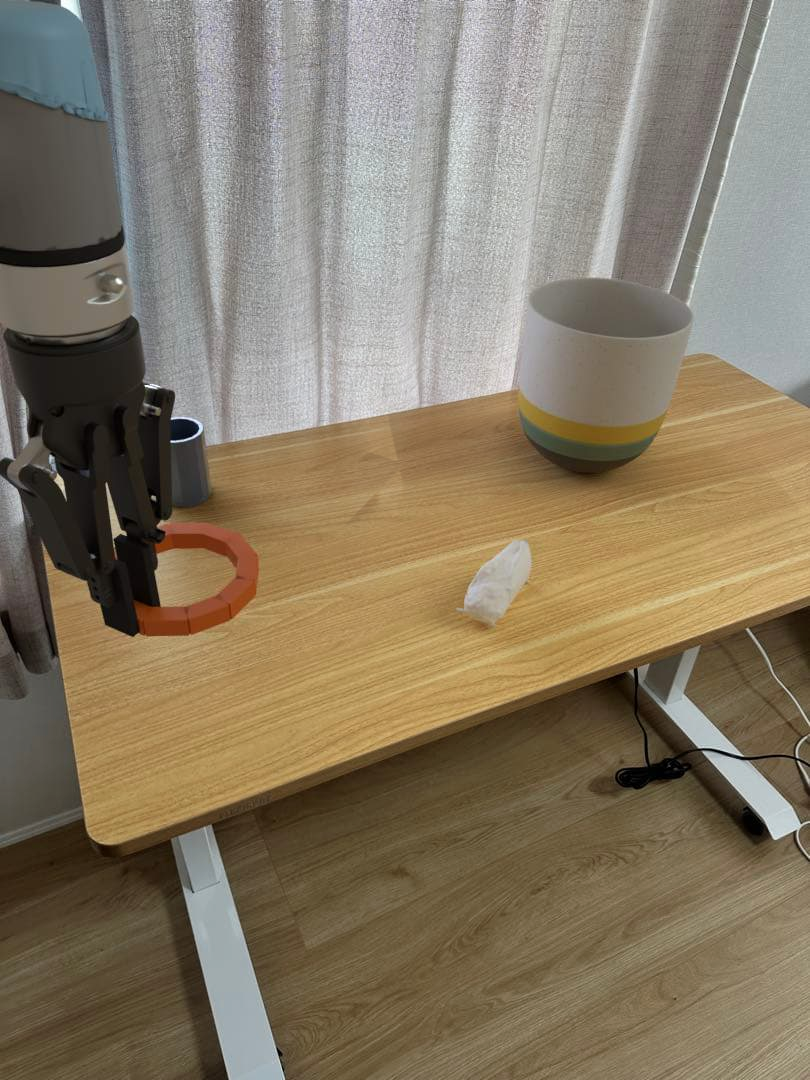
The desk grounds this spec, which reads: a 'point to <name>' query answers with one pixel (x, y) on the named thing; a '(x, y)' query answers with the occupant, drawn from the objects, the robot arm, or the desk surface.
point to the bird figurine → (498, 583)
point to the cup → (189, 463)
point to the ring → (215, 607)
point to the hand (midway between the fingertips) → (133, 618)
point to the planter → (599, 369)
